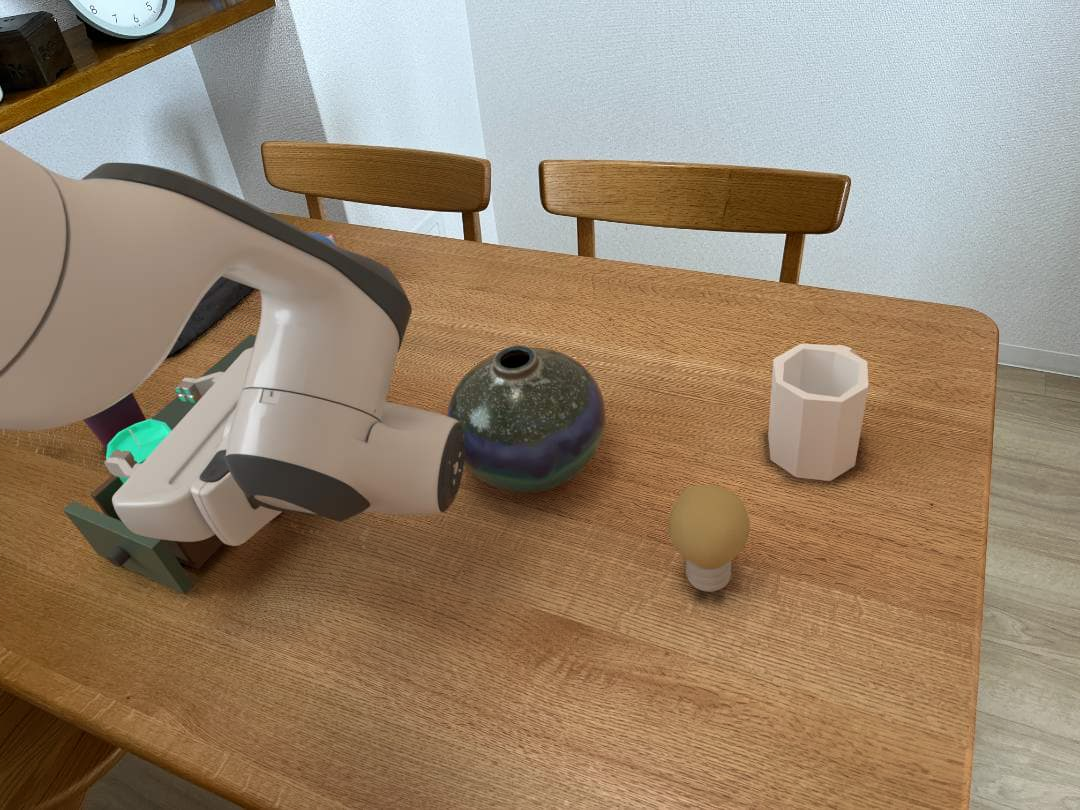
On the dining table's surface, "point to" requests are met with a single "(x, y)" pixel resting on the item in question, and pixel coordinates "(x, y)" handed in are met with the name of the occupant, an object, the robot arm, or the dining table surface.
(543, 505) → the dining table surface
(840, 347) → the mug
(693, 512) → the light bulb
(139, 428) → the candle
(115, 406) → the cup
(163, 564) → the drawer
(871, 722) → the dining table surface
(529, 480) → the vase
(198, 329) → the dark slate chunk
